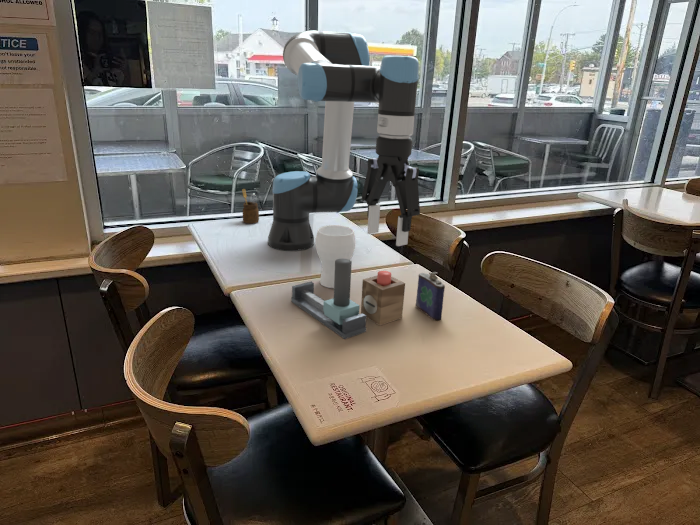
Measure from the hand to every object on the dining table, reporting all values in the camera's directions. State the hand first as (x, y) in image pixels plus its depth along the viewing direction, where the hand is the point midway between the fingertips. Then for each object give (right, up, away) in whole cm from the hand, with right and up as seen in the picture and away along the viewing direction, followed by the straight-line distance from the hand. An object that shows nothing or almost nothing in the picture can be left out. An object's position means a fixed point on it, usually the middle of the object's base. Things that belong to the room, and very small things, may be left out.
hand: (386, 238), depth 111 cm
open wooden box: (-1, -18, +7) cm, 19 cm away
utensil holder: (-45, +10, +74) cm, 88 cm away
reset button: (0, -12, +5) cm, 13 cm away
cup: (-13, -11, +24) cm, 30 cm away
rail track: (-14, -18, +6) cm, 23 cm away
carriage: (-10, -18, +1) cm, 20 cm away
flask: (+11, -18, +10) cm, 23 cm away
